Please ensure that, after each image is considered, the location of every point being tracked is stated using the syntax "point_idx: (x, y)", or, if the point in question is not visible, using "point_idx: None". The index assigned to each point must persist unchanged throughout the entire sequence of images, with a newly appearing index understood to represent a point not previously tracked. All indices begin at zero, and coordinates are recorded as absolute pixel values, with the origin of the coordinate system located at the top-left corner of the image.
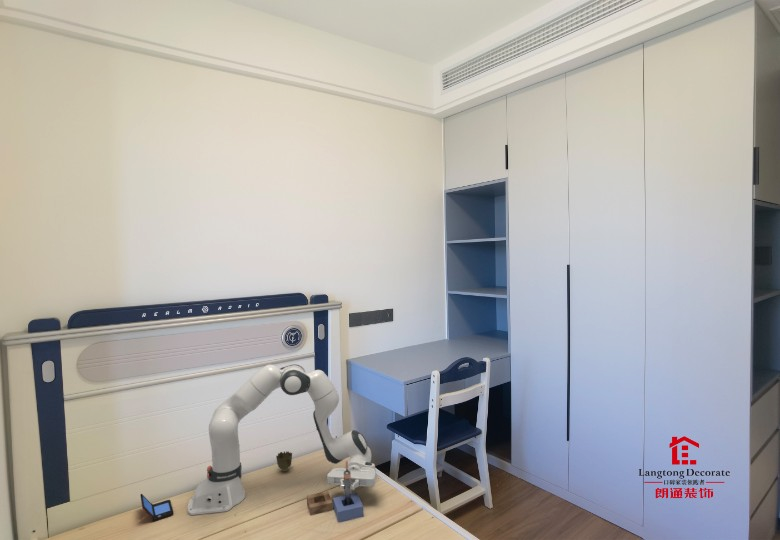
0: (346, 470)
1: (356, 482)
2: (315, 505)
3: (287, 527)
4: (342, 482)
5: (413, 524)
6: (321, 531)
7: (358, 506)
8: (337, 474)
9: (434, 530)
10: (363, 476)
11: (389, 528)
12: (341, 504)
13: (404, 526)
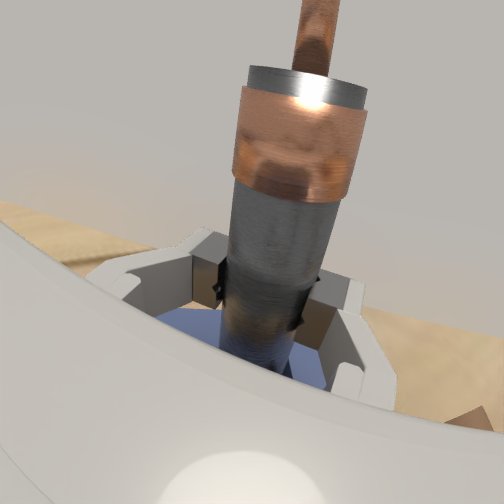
0: (322, 47)
1: (140, 253)
2: (465, 424)
3: (496, 360)
4: (348, 318)
5: (29, 240)
6: (377, 317)
7: (179, 315)
8: (488, 490)
9: (17, 213)
10: (2, 260)
11: (99, 250)
12: (302, 373)
13: (54, 242)
